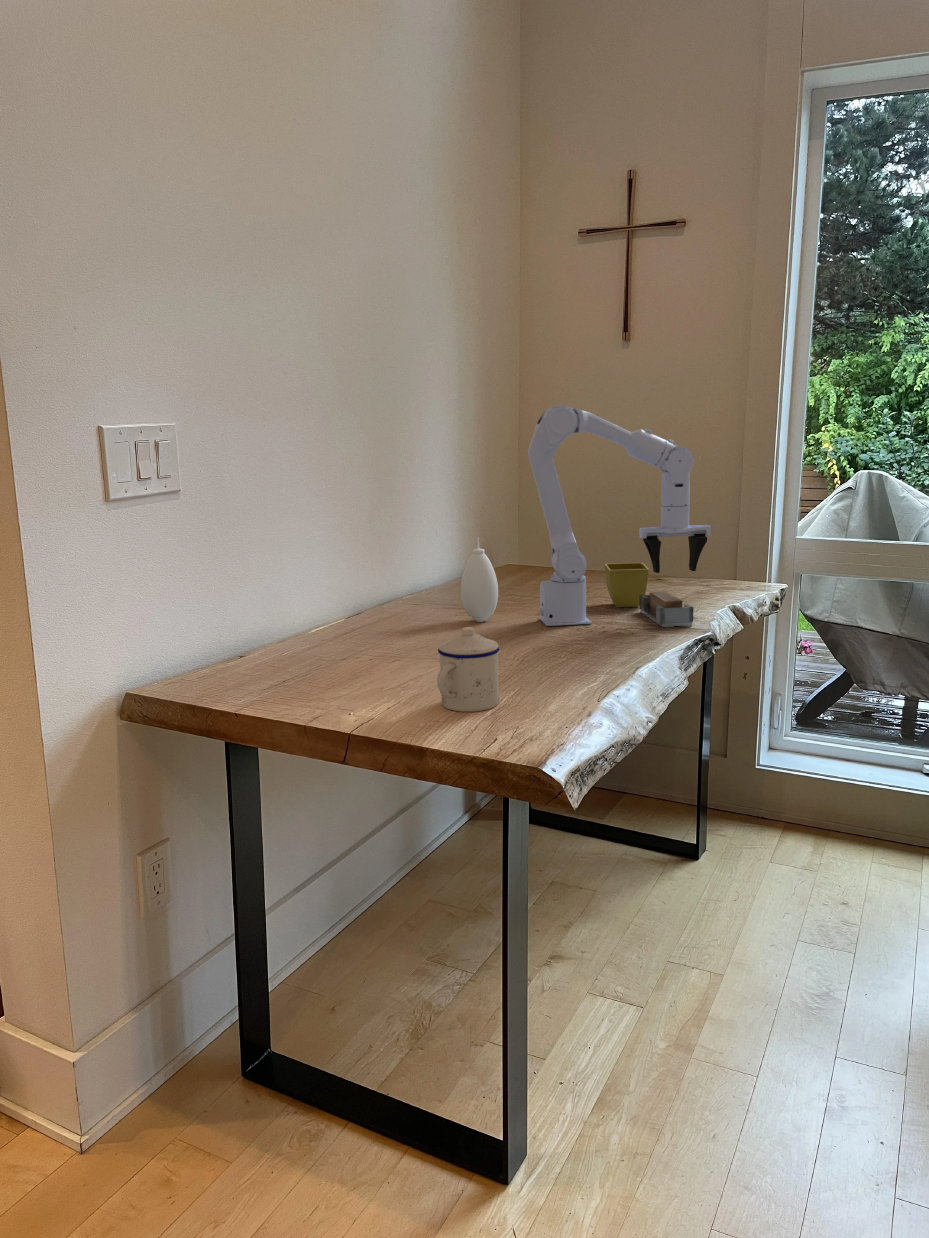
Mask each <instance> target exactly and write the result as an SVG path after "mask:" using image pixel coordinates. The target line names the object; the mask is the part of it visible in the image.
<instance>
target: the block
mask: <svg viewBox="0 0 929 1238" xmlns="http://www.w3.org/2000/svg"><path fill="white" fill-rule="evenodd" d="M649 595H650V611H651V612H653V613H654V614H656V606H662V607H663V608H672V607H683V600H682V599H680V598H679V597H676V596H675V595H673V594H671V593H669V592H668V591H666V590H663V591H650V592H649Z"/></svg>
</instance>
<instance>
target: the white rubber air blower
mask: <svg viewBox="0 0 929 1238" xmlns="http://www.w3.org/2000/svg"><path fill="white" fill-rule="evenodd" d="M476 540H477V541H476V548H474V549H472V551H471V552H472V554H471V555H469V557H468V558H467V559H468V560H467V562H466V564H465V567H464V570H463V573H462V576H461V583H460V597H461V598H460V599H461V601H462V602H461V603H462V606H463V609H464V611H465V612H466V615H467V616H469V617H471V620H473V621H475V622H477V623H483V622H486V621H487V620H489V619H490V618H489V617H490V616H493V614H494V612H495V610H496V608H497V605H498V598H499V585H498V579H497V575H496V571H495V569H494V567H493V564H492V562H491V560H490V559H489V557H488V556H487V555H486V553H485V551H486V550H485V549H484V548H481V547H480V538H479V537H477V538H476Z"/></svg>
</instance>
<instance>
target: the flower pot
mask: <svg viewBox="0 0 929 1238" xmlns="http://www.w3.org/2000/svg"><path fill="white" fill-rule="evenodd" d="M649 568H650V567H647V565H646V564H645V563H644V562H619V563H617V562H616V563H613V562H612V563H604V572H605V582H606V583H605V584H606V587H607V591H608V595H609V597H610V600H611V601H612V603H613V604H614V606H615V607H616V608H630V607H631V608H633V607H634V608H637V607H638V608H639V597H640V595H646V592H647V587H648V581H649V572H650V569H649Z"/></svg>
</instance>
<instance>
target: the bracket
mask: <svg viewBox="0 0 929 1238" xmlns="http://www.w3.org/2000/svg"><path fill="white" fill-rule="evenodd" d="M683 605H684V606H682V607H672V608H663V607H662V606H656V614H654V613H653V612H651V611H650V594H645V595H640V597H639V606H638V608H639V610H640V613H641V614H643V615H644V616H645V617H647V618H648V617H649V618H648V619H650V620H651V621H652V622H654V623H655V622H656V623H655V624H657V625H658V626H660V627H661V626H662V627H661V628H663V627H665V628H675V627H674V626H685V627H692V626H693V623H694V606H692V605H690V603H689V604H688V603H686V604H685V603H684V604H683Z"/></svg>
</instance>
